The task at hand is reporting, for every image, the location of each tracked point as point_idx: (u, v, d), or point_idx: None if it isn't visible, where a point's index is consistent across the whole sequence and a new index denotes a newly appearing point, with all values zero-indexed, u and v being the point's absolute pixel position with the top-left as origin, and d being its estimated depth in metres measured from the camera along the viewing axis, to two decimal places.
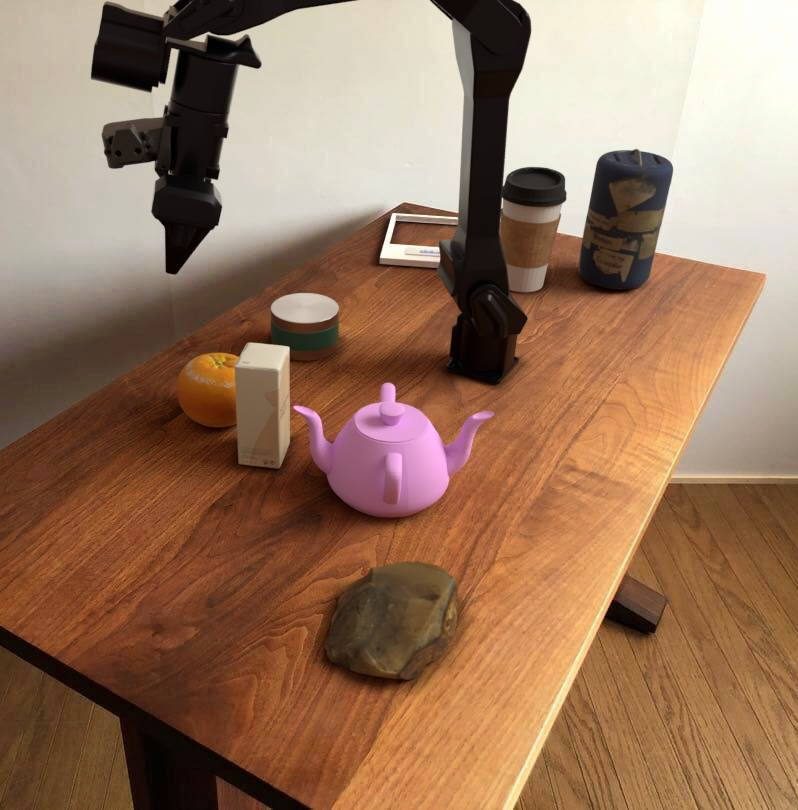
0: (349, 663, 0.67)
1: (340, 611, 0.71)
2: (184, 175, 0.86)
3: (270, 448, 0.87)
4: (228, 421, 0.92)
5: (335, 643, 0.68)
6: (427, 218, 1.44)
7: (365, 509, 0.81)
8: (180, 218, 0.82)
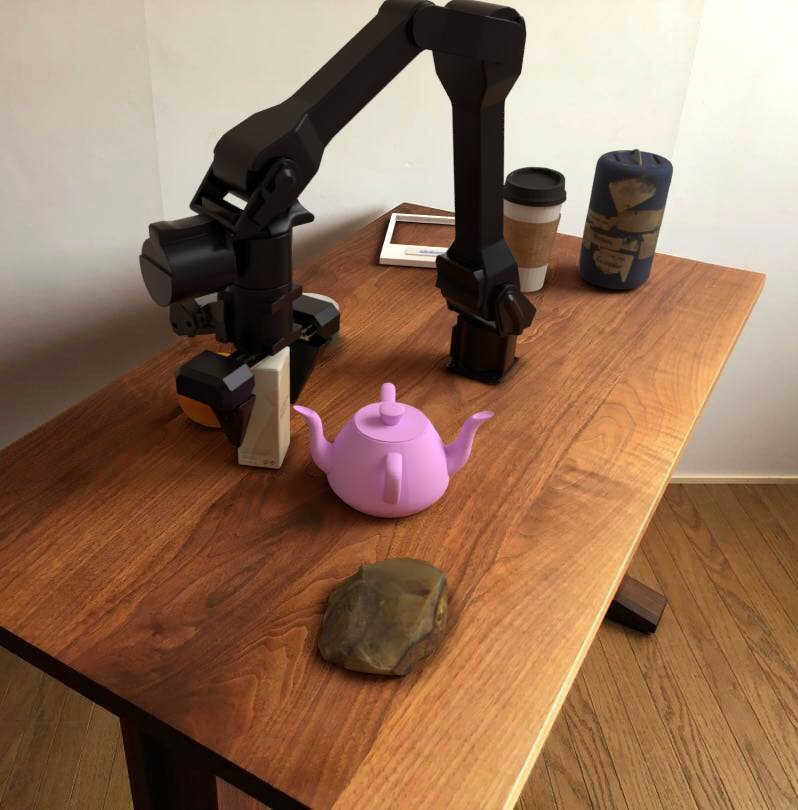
0: (343, 661, 0.67)
1: (331, 609, 0.71)
2: (238, 349, 0.82)
3: (270, 449, 0.87)
4: None
5: (328, 641, 0.69)
6: (427, 218, 1.44)
7: (365, 509, 0.81)
8: (195, 398, 0.79)
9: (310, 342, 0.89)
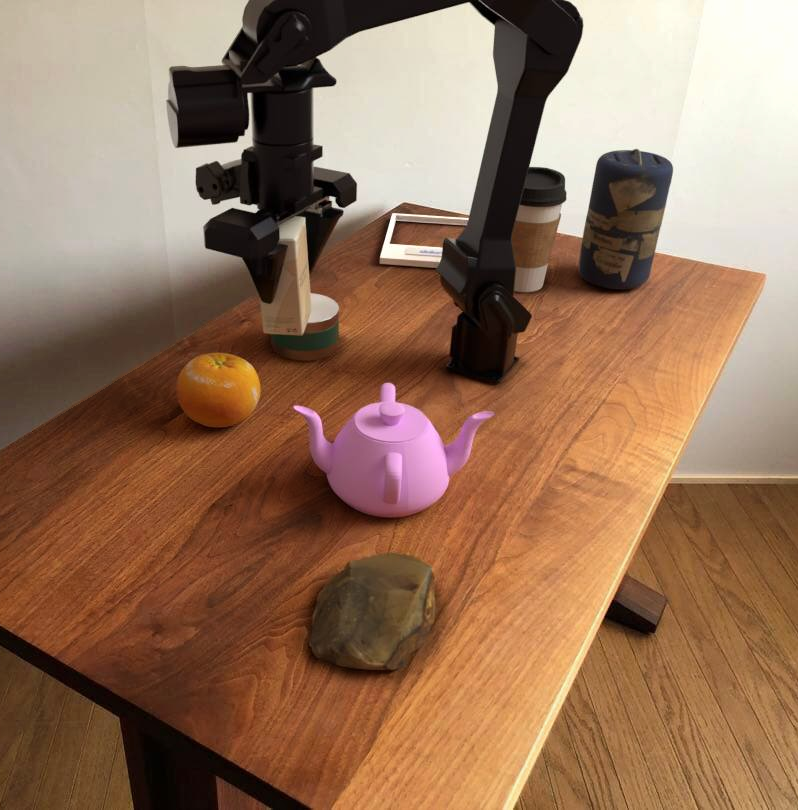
0: (335, 658, 0.68)
1: (321, 607, 0.72)
2: (262, 209, 0.86)
3: (292, 317, 0.92)
4: (228, 421, 0.92)
5: (319, 639, 0.69)
6: (427, 218, 1.44)
7: (365, 509, 0.81)
8: (223, 251, 0.83)
9: (322, 214, 0.92)
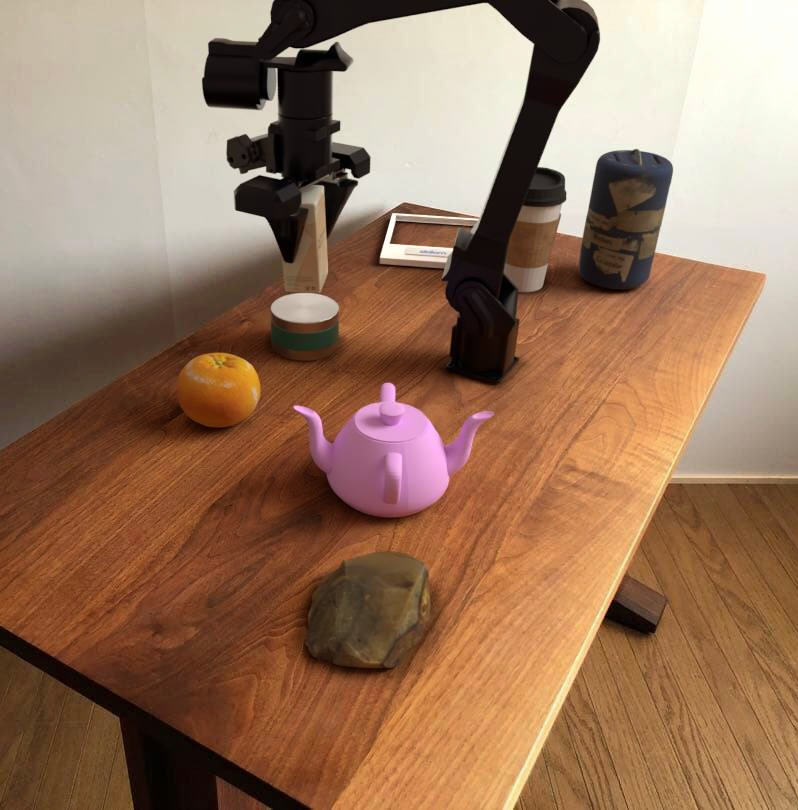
0: (332, 657, 0.68)
1: (316, 606, 0.72)
2: (286, 177, 0.96)
3: (311, 276, 1.02)
4: (228, 421, 0.92)
5: (316, 638, 0.69)
6: (427, 218, 1.44)
7: (365, 509, 0.81)
8: (251, 212, 0.93)
9: (338, 184, 1.02)
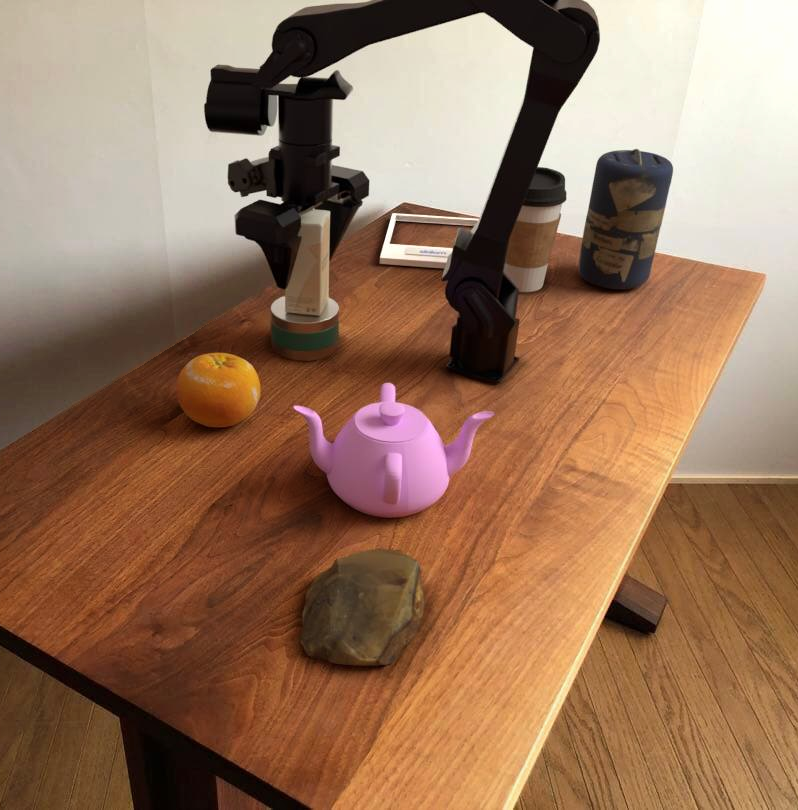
0: (327, 655, 0.68)
1: (310, 605, 0.72)
2: (286, 201, 0.98)
3: (312, 297, 1.04)
4: (228, 421, 0.92)
5: (311, 637, 0.69)
6: (427, 218, 1.44)
7: (365, 509, 0.81)
8: (252, 237, 0.94)
9: (343, 204, 1.04)
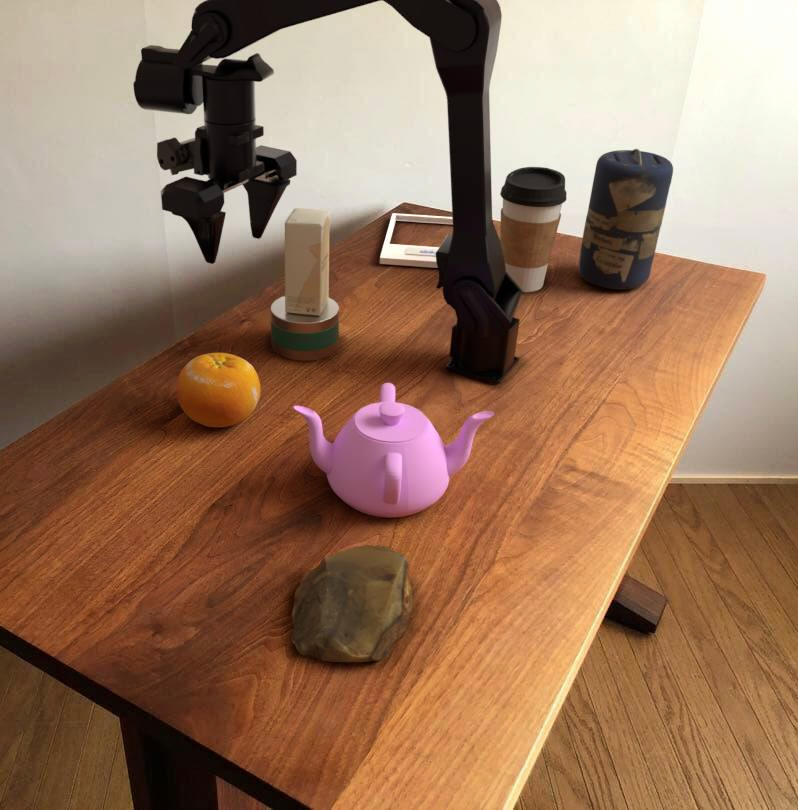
0: (320, 653, 0.68)
1: (300, 604, 0.72)
2: (211, 178, 1.02)
3: (312, 297, 1.04)
4: (228, 421, 0.92)
5: (302, 636, 0.69)
6: (427, 218, 1.44)
7: (365, 509, 0.81)
8: (176, 212, 0.99)
9: (271, 183, 1.09)
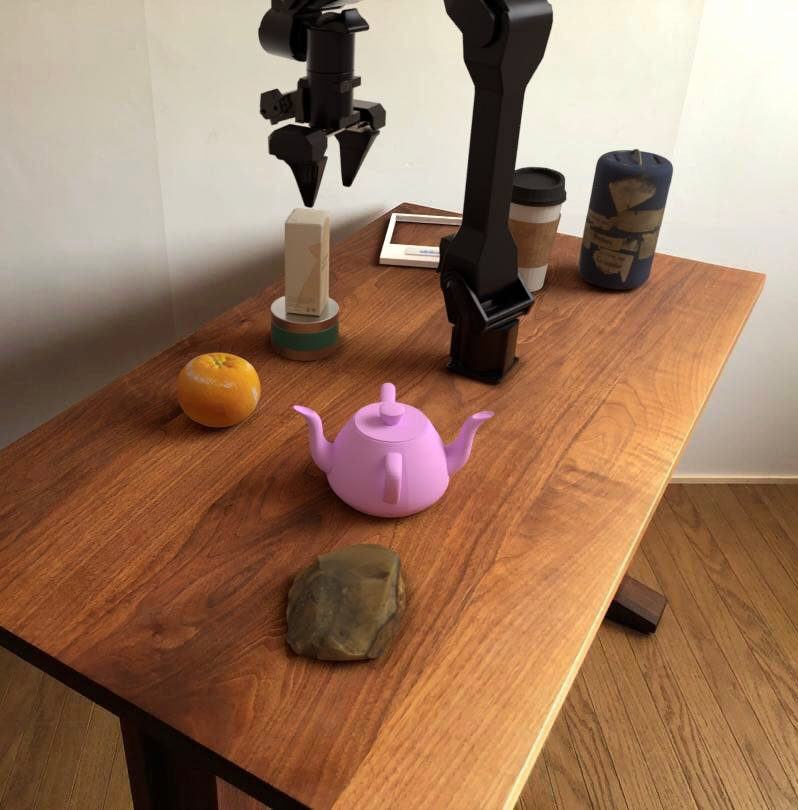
0: (316, 652, 0.68)
1: (294, 603, 0.72)
2: (313, 126, 1.09)
3: (312, 297, 1.04)
4: (228, 421, 0.92)
5: (298, 635, 0.69)
6: (427, 218, 1.44)
7: (365, 509, 0.81)
8: (284, 155, 1.06)
9: (363, 132, 1.16)
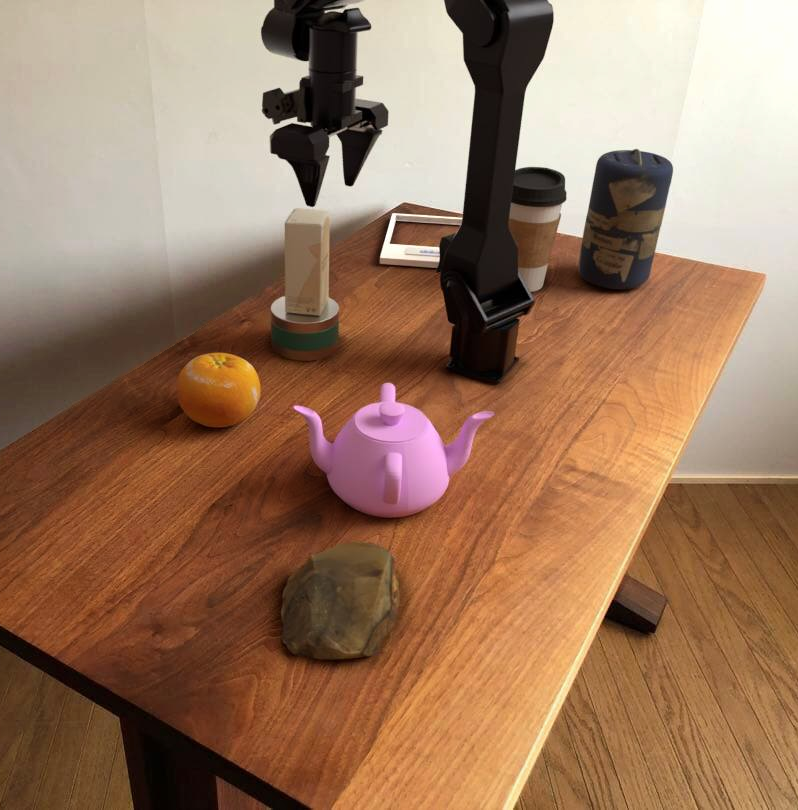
0: (312, 652, 0.68)
1: (288, 603, 0.72)
2: (315, 125, 1.09)
3: (312, 297, 1.04)
4: (228, 421, 0.92)
5: (293, 635, 0.69)
6: (427, 218, 1.44)
7: (365, 509, 0.81)
8: (285, 155, 1.06)
9: (365, 132, 1.16)
